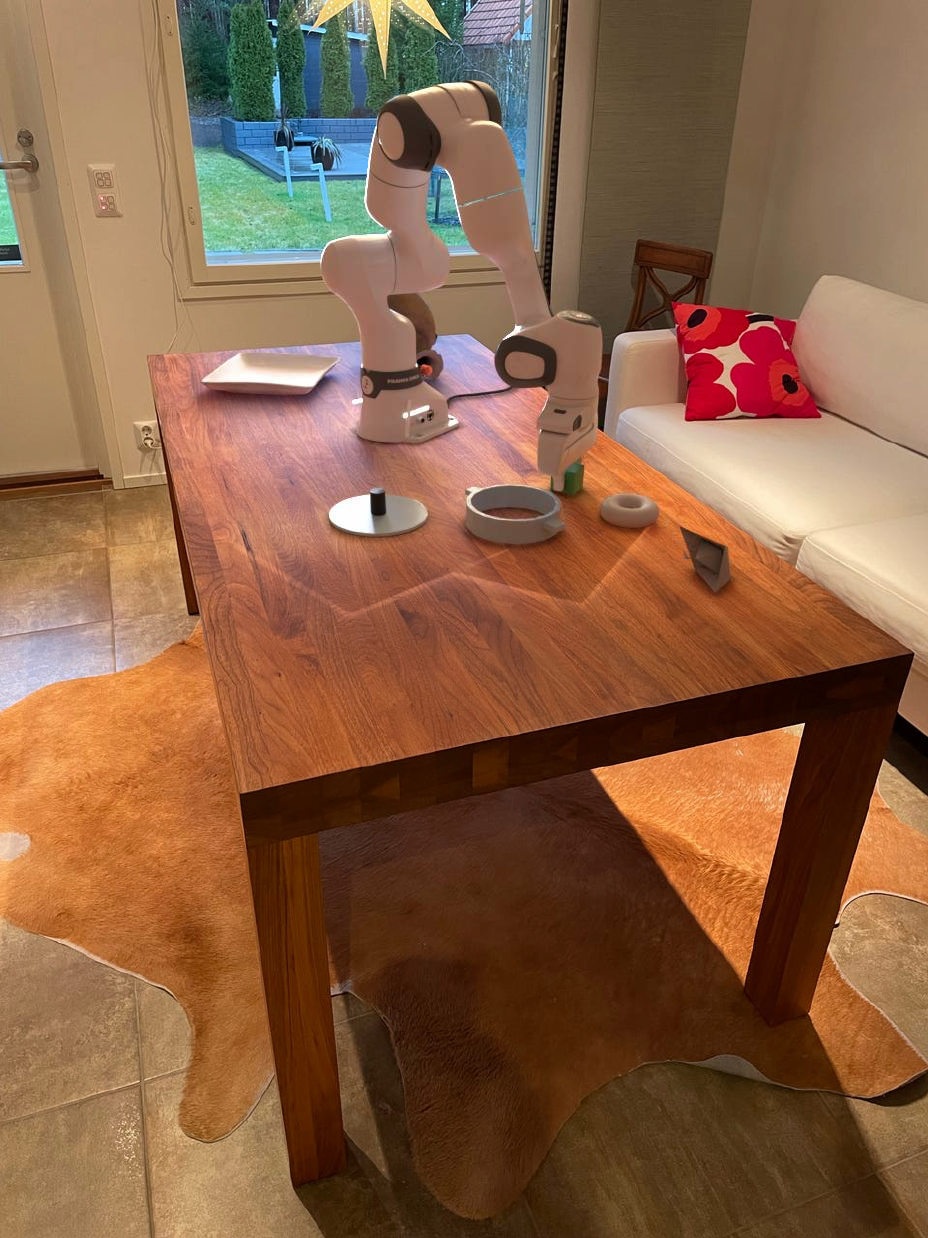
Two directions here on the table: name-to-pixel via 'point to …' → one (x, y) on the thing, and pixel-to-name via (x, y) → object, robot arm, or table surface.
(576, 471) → the block
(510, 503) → the pan
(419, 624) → the table surface
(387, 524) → the pan lid
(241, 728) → the table surface
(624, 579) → the table surface
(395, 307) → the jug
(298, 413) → the table surface
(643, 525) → the donut
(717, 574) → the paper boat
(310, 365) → the square plate
